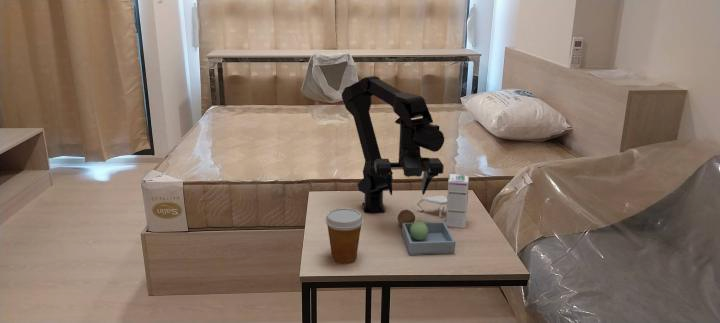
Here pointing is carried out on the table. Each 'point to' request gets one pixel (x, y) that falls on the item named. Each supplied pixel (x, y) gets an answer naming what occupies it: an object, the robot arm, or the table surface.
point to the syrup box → (457, 200)
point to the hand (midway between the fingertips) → (407, 194)
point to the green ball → (419, 230)
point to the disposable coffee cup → (344, 233)
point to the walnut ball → (406, 217)
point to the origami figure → (437, 200)
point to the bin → (430, 240)
